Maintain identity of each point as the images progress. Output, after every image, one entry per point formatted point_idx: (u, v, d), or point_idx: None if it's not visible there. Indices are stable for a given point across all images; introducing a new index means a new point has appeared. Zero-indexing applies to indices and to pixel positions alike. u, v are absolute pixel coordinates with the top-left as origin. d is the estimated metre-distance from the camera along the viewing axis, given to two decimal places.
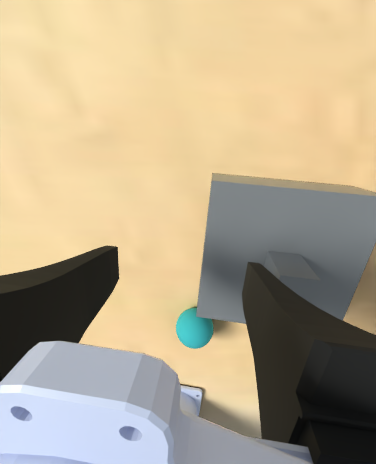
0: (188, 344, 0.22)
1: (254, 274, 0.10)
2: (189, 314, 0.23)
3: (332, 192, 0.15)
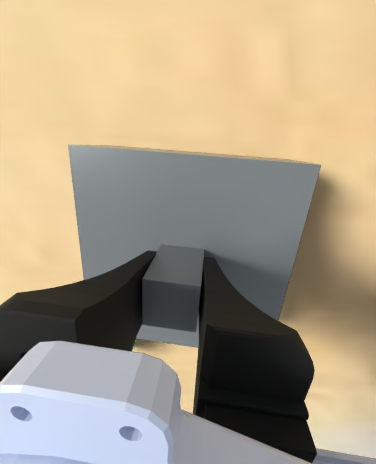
0: None
1: (203, 268, 0.10)
2: None
3: (234, 158, 0.10)
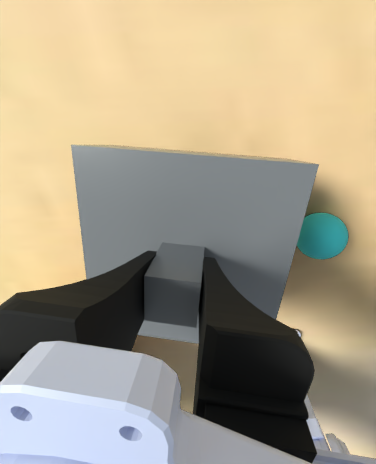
0: (323, 249, 0.18)
1: (203, 268, 0.10)
2: (318, 215, 0.18)
3: (234, 158, 0.11)
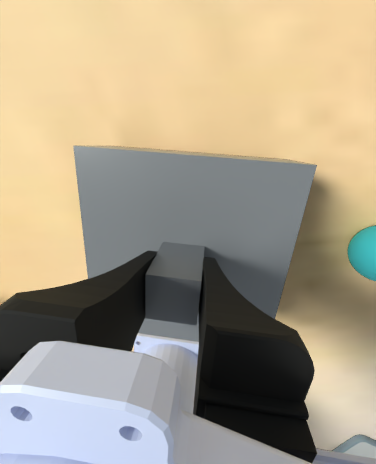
0: None
1: (203, 268, 0.10)
2: None
3: (233, 159, 0.11)
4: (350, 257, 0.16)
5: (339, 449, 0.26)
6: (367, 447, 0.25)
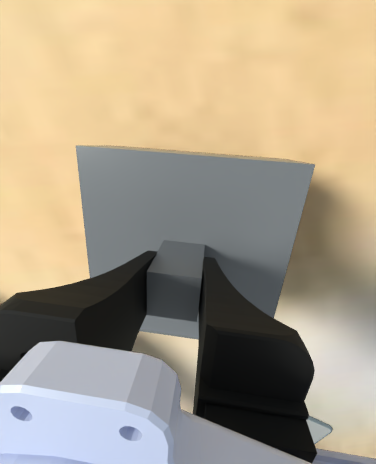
0: None
1: (203, 268, 0.10)
2: None
3: (233, 158, 0.11)
4: None
5: None
6: None
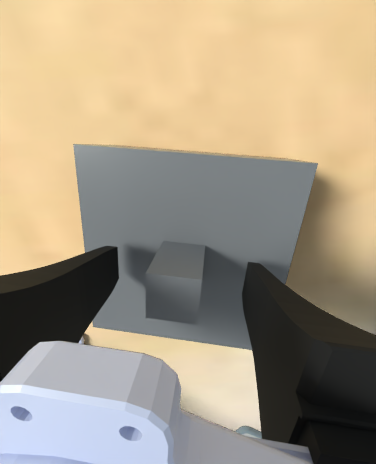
0: None
1: (254, 274, 0.10)
2: None
3: (234, 157, 0.11)
4: None
5: None
6: None
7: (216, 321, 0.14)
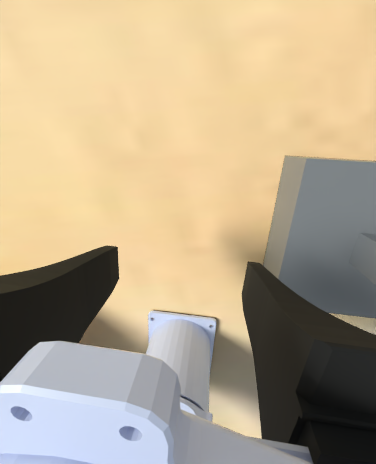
0: None
1: (254, 274, 0.10)
2: None
3: None
4: None
5: None
6: None
7: None
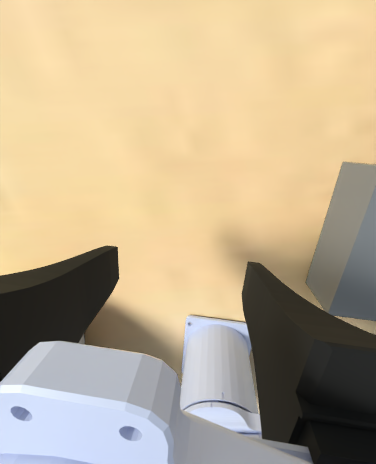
0: None
1: (254, 274, 0.10)
2: None
3: None
4: None
5: None
6: None
7: None
